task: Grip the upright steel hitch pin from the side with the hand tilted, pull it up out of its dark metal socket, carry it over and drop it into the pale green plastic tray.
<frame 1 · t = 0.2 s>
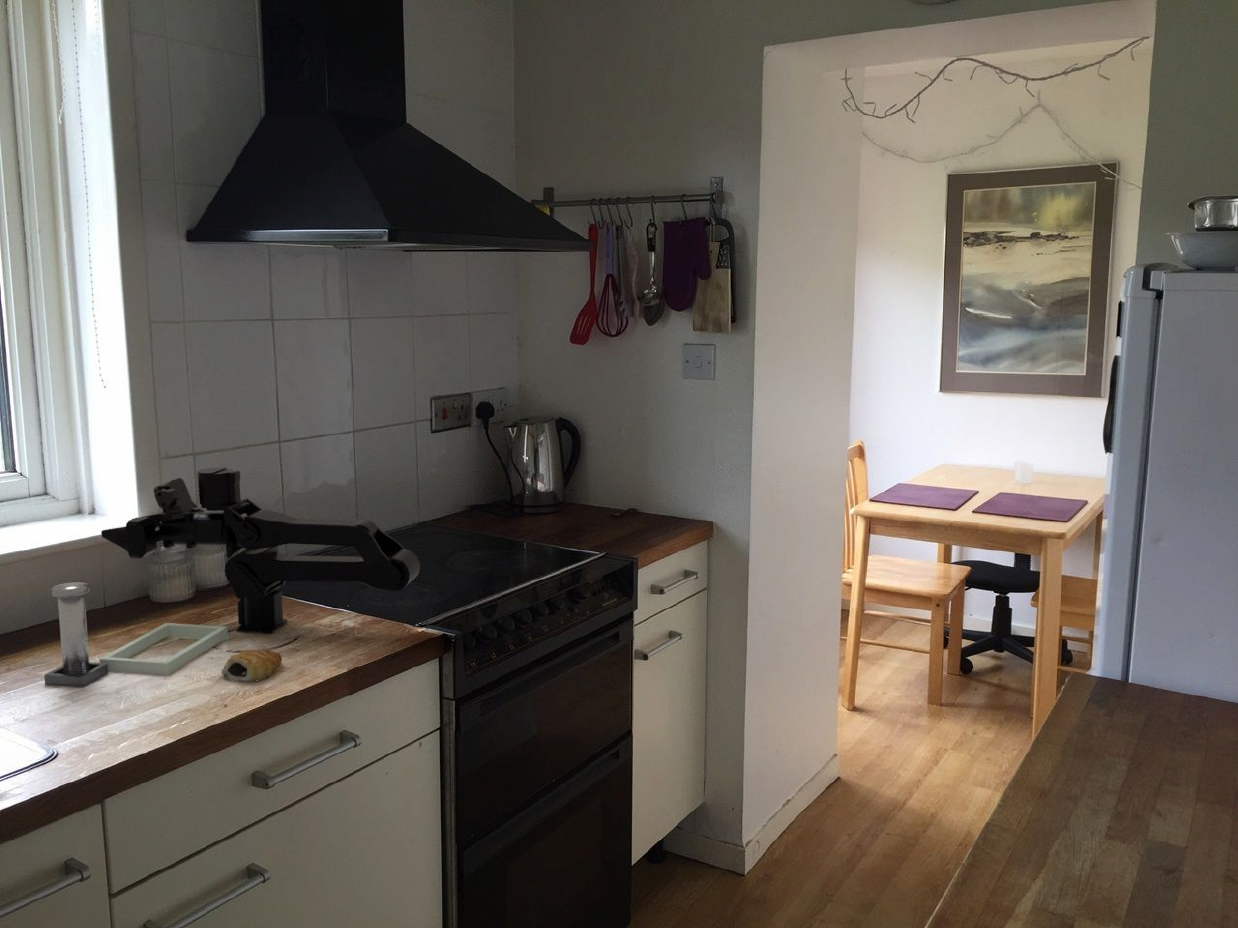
hand: (117, 527, 189), 17 cm above the table, tool horizontal, fingers open, 9 cm apart
pastry: (252, 675, 167), on the table
tray: (167, 657, 173), on the table
pin: (77, 678, 161), point 1 cm above the table, touching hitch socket
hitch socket: (77, 683, 161), on the table
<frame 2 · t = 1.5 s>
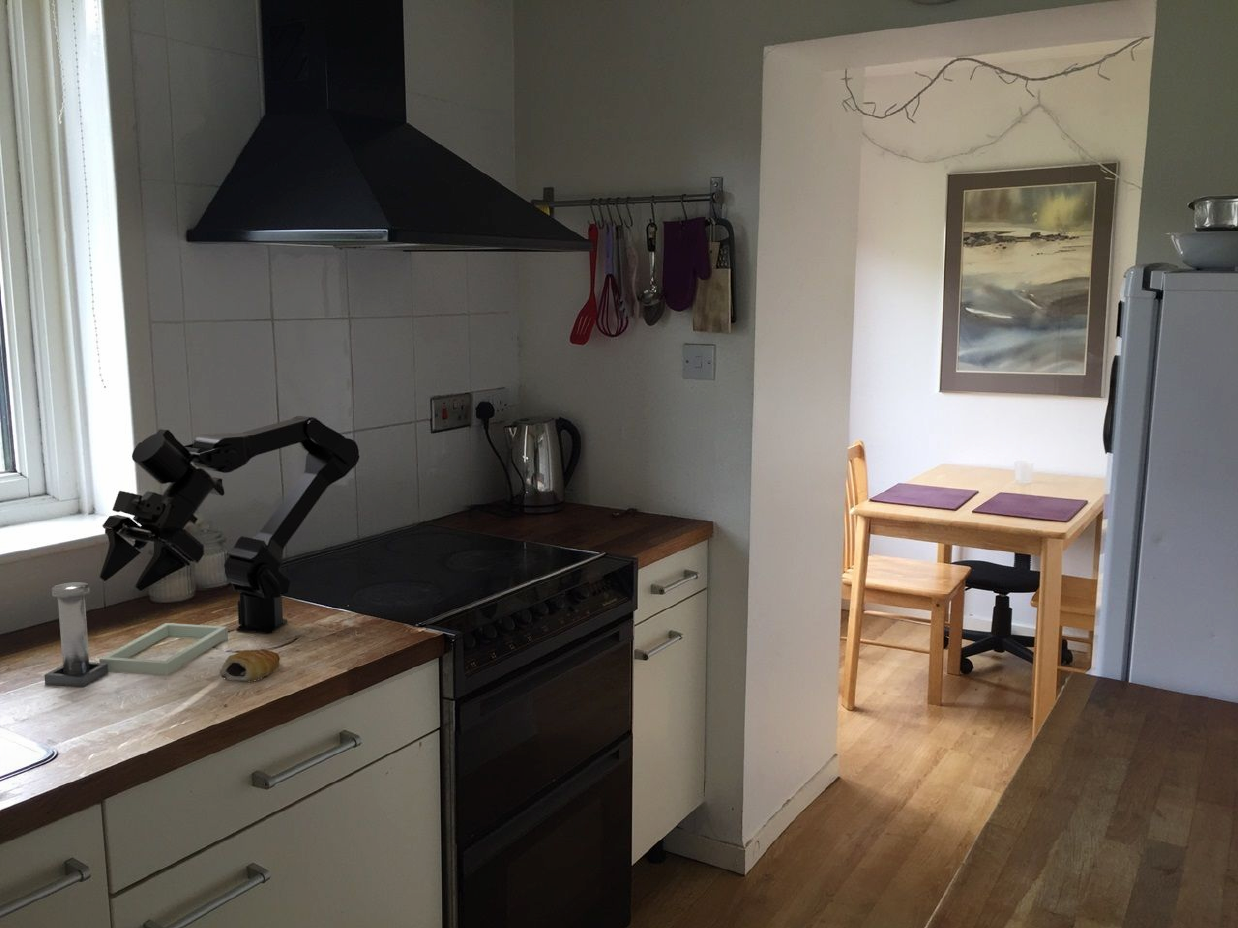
hand: (119, 584, 165), 13 cm above the table, tool tilted 45°, fingers open, 9 cm apart
nothing on the table moved.
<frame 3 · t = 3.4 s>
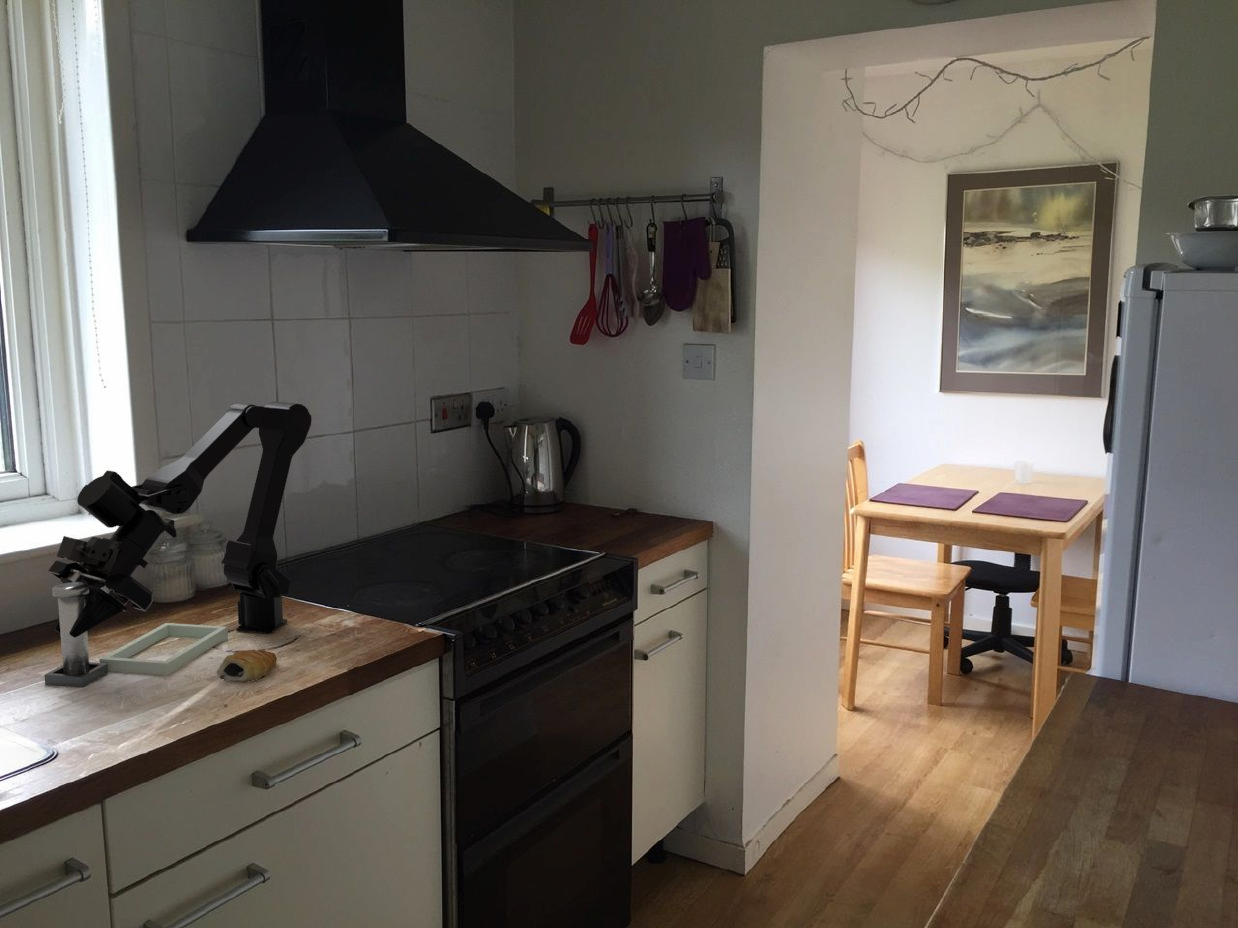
hand: (64, 633, 159), 8 cm above the table, tool tilted 45°, fingers closed on pin, 3 cm apart
pin: (77, 678, 161), point 1 cm above the table, touching gripper, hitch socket
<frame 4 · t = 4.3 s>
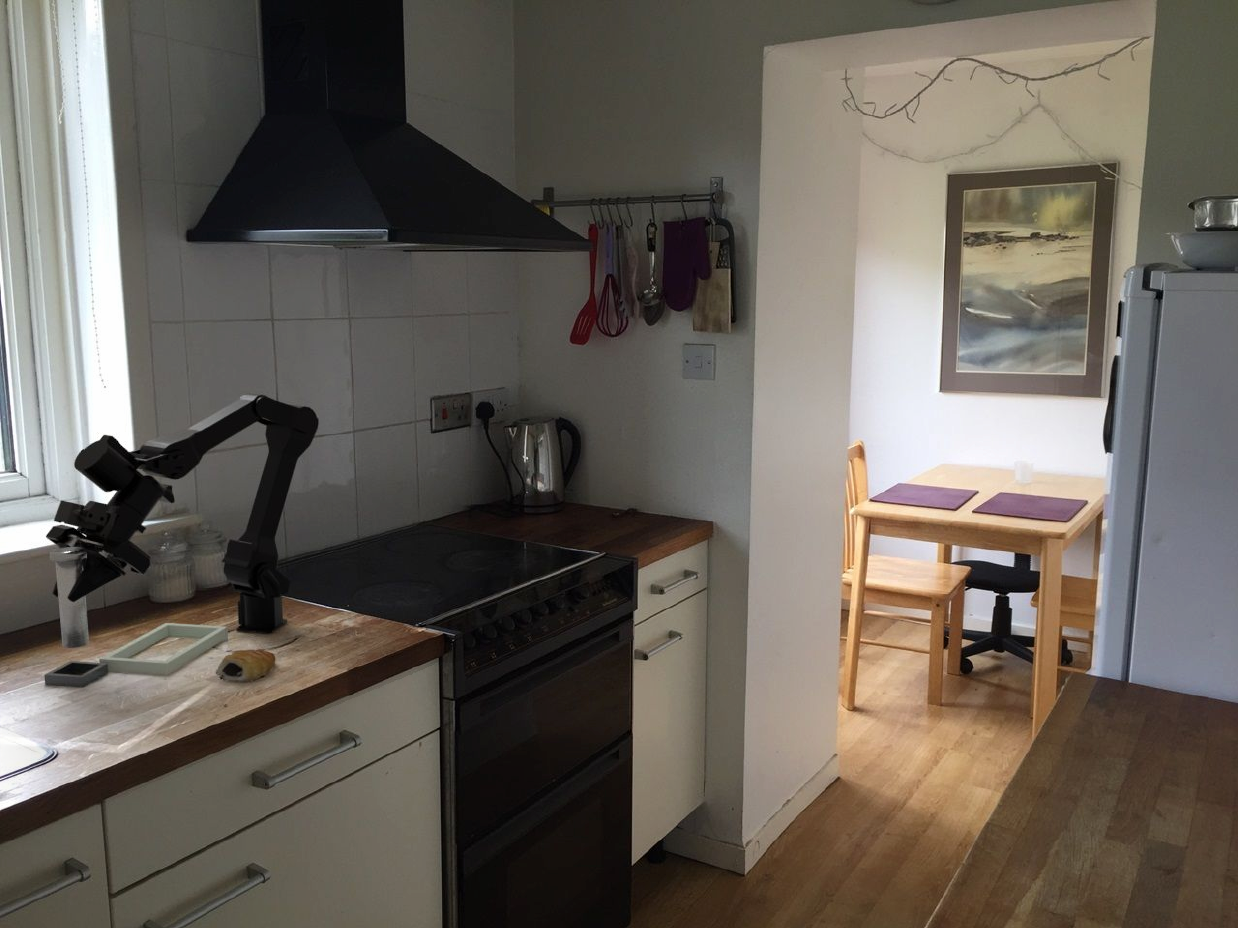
hand: (62, 598, 158), 13 cm above the table, tool tilted 45°, fingers closed on pin, 3 cm apart
pin: (75, 643, 160), point 6 cm above the table, touching gripper
everything else where it was.
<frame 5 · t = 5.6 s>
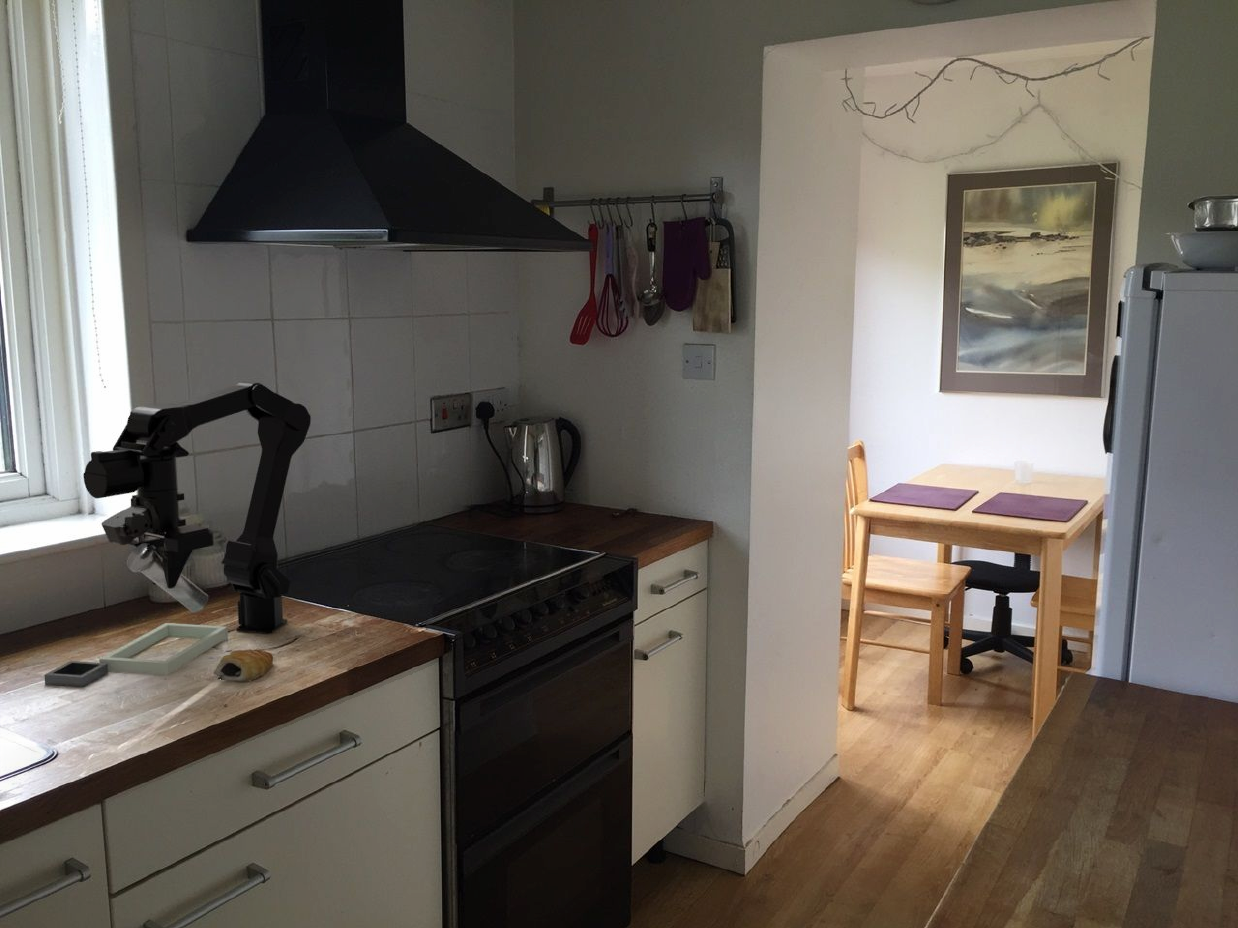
hand: (163, 586, 171), 12 cm above the table, tool pointing down, fingers closed on pin, 3 cm apart
pin: (199, 603, 177), point 7 cm above the table, tilted 45°, touching gripper
when the fingers open (6 cm above the table, at t = 6.6 s): pin stays where it is and tips over, resting on tray.
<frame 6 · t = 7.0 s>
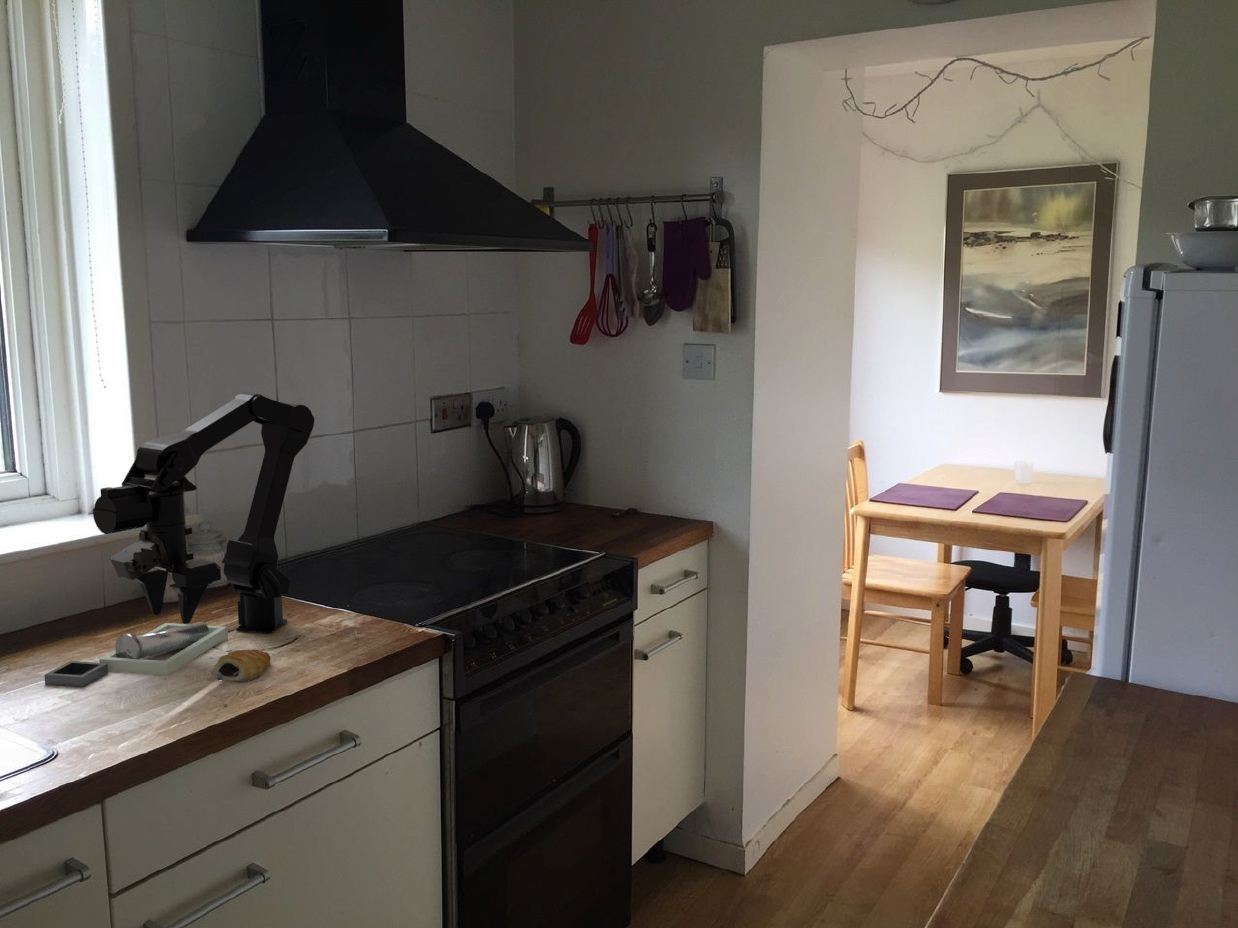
hand: (171, 618, 173), 6 cm above the table, tool pointing down, fingers open, 7 cm apart
pin: (202, 632, 178), point 2 cm above the table, tilted 85°, touching tray
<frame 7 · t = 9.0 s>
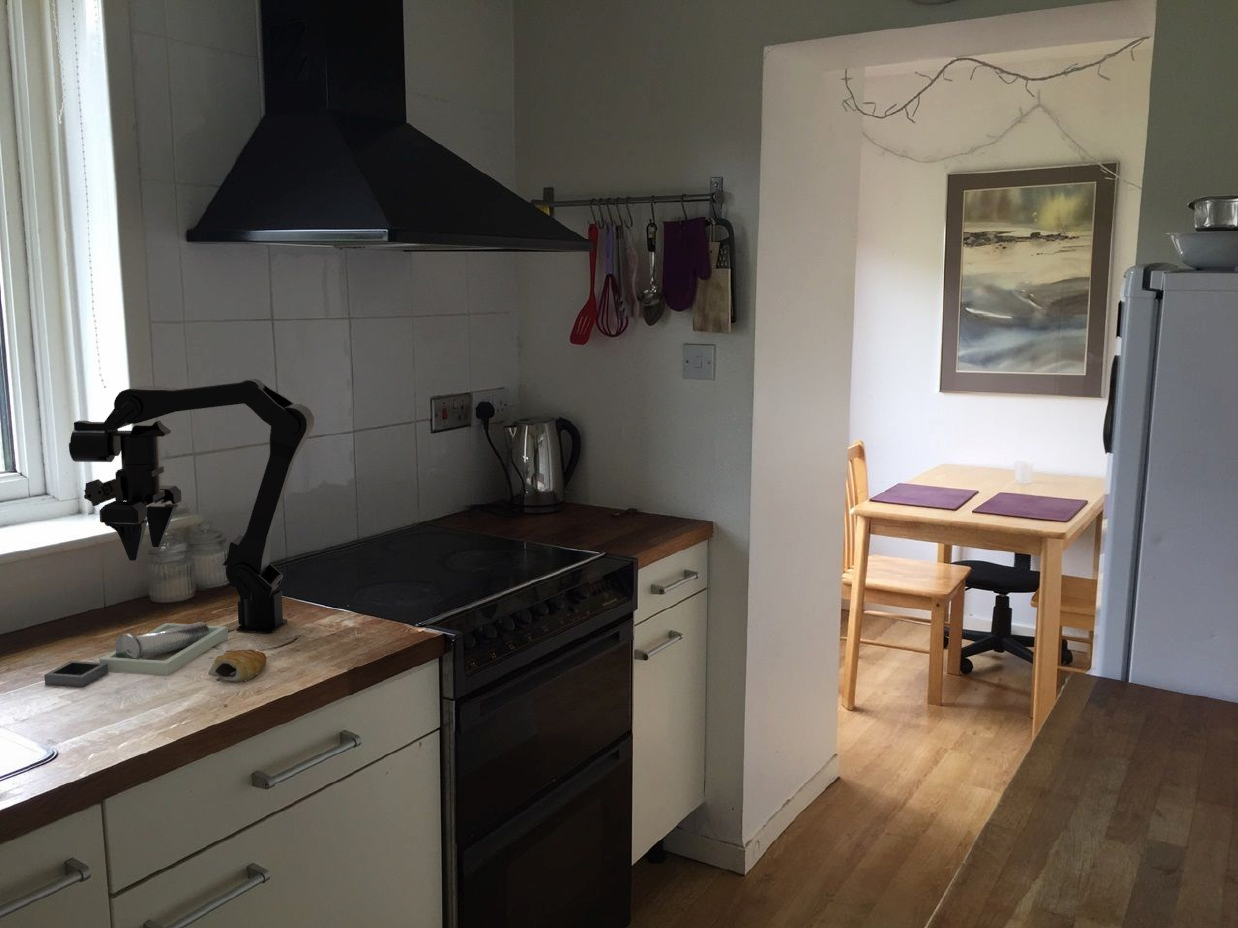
hand: (144, 553, 185), 13 cm above the table, tool pointing down, fingers open, 9 cm apart
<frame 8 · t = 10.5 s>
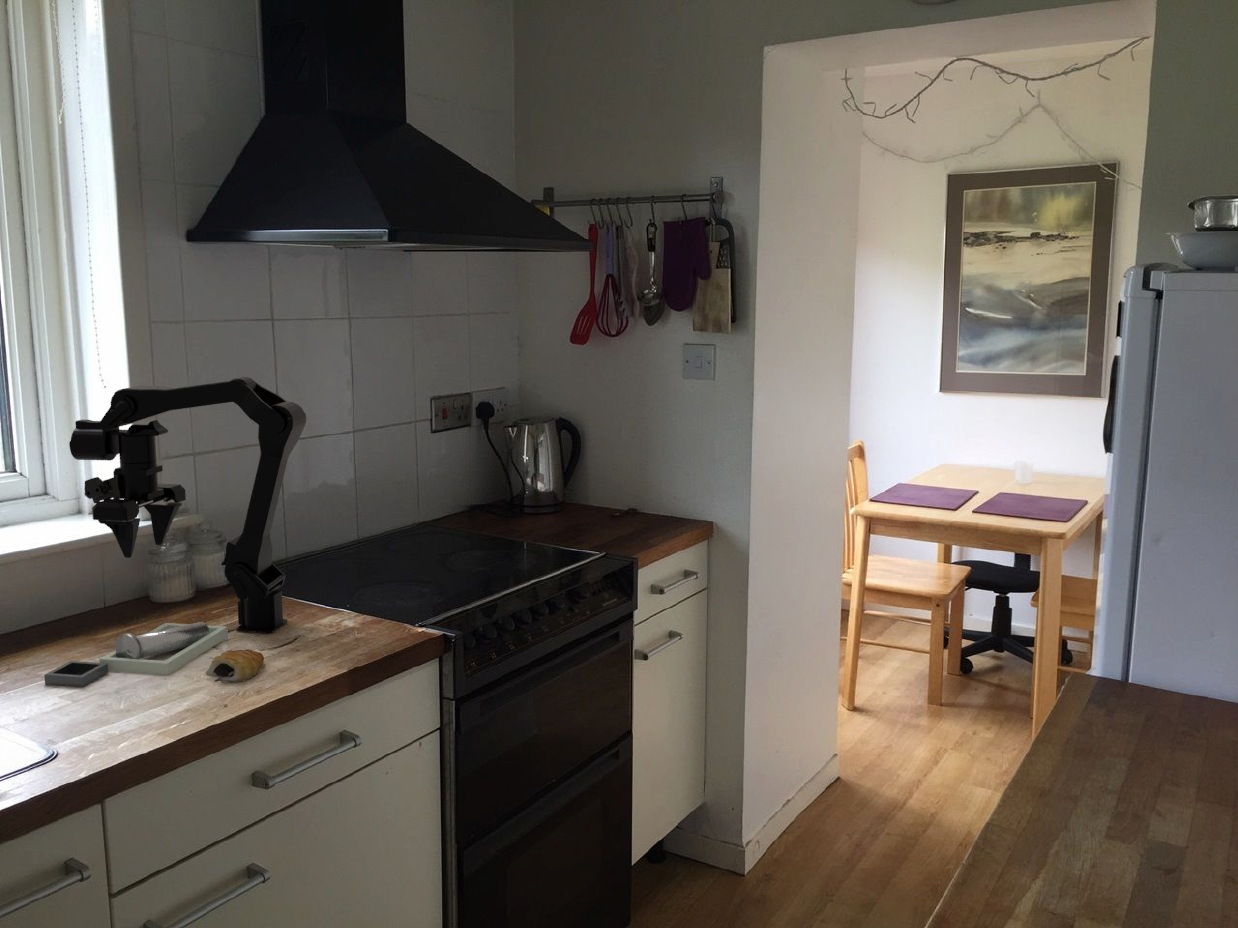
hand: (143, 550, 187), 13 cm above the table, tool pointing down, fingers open, 9 cm apart
at the end: pin inside the target area on the tray (6.4 cm from its centre), point 2.3 cm above the tray's base; the gripper is holding nothing; pin moved 21.1 cm from its start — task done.
